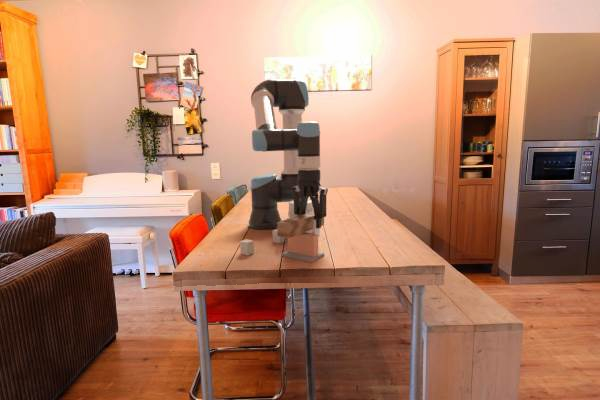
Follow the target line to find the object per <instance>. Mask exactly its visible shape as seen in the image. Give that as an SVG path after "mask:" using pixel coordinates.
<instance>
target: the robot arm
mask: <svg viewBox="0 0 600 400" xmlns="http://www.w3.org/2000/svg"><path fill="white" fill-rule="evenodd" d="M309 99H310V98H309V91H308V87H307V83H306V82H305V81H304V80H303V79H295V78H288V79H287V78H286V79H283V78H281V79H279V78H277V79H275V78H274V79H273V78H270V79H266V80H264V81H262V82H260V83H259V84H258V85H256V86H255V87H254V89H252V92H251V95H250V102H251V106H252V108H253V109H254V119H255V129H253V130H252V131H251V143H252V150H253V151H254V152H263V153H264V152H279V151H283V170H281V172H280V176H277V174H276V173H267V174H262V175H257V176H255V177H252V178H251V180H250V190H251V191H250V192H251V212H250V216H249V217H250V218H249V220H248V227H249V228H250V229H254V230H271V229H277V222H280V221H283V220H282V218H281V215H280V212H279V209H278V203H289V202H290V201H293V200H294V214H295V215H298V216H299V215H302V214H305V212H306V207H307V201H308V200H310V201H312V206H313V211H314V215H315V218H314V219H313V234H318V238H320V234H321V233H320V231H321V230H320V229H321V228H322V226H321V219H322V218H324V219H325V218H326V217H327V194H328V190H329V189H328V188H327V187H326V188H324V187H322V185H321V183H320V181H321V169H320V168H321V142H320V141H321V131H320V128H321V127H320V123H319V122H317V121H302V120H303V117H302V116H303V114H304V113H305V111H306V108H307V107H308V106H309V103H310V102H309ZM274 108H278V112H279V113H280V114H281V115H282V128H279V129H278V128H277V121H276V116H275V111H274ZM306 233H307V232H306Z"/></svg>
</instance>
